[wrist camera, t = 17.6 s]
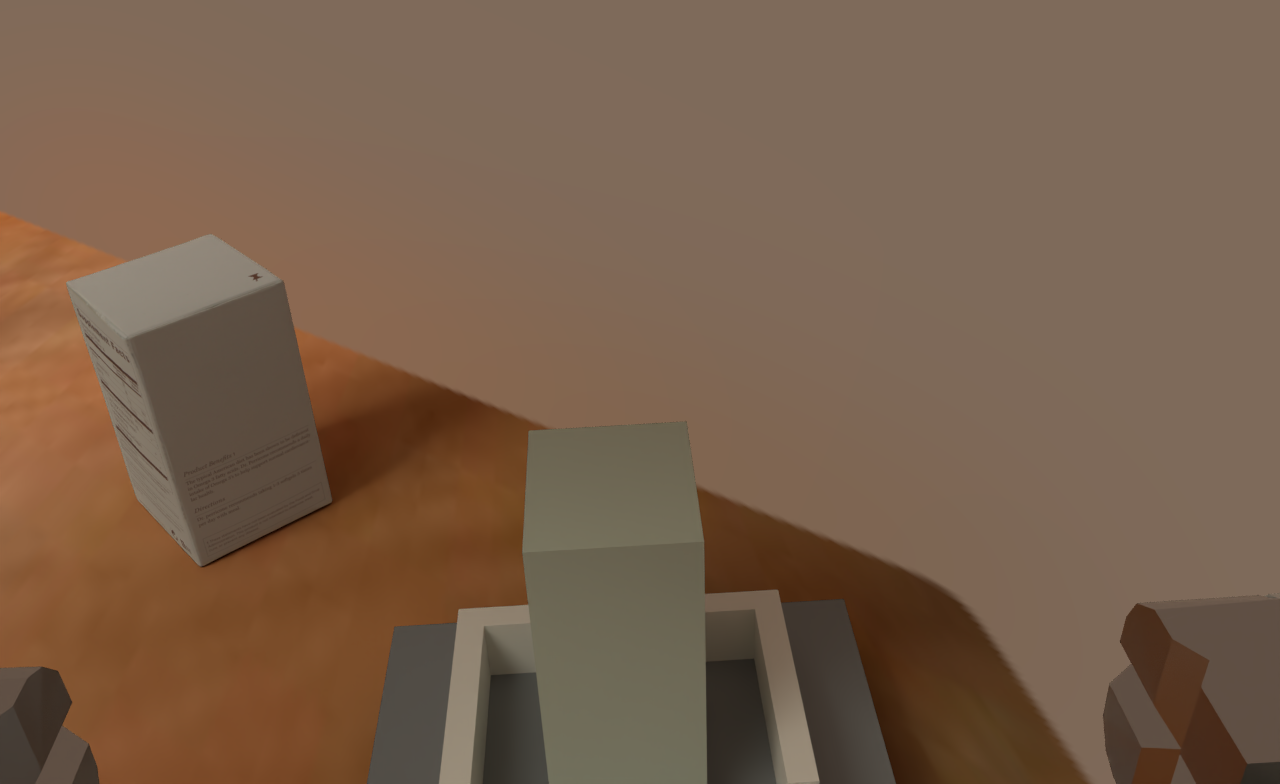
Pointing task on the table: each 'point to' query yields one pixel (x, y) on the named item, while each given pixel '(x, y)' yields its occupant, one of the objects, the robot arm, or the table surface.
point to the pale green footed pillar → (617, 603)
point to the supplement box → (205, 393)
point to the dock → (735, 698)
